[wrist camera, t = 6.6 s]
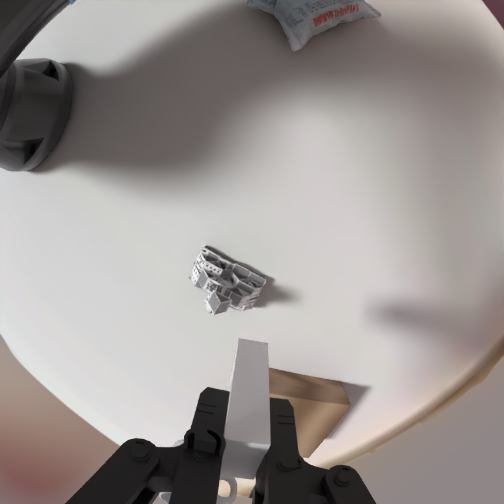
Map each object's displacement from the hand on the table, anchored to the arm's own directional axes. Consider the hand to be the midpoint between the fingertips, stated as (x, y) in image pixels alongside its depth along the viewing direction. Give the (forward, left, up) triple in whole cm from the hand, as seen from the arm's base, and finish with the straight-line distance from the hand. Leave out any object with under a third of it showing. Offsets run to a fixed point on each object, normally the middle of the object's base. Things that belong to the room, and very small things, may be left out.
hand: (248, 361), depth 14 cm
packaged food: (-1, +26, -16) cm, 31 cm away
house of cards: (-4, -3, -16) cm, 16 cm away
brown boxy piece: (+8, -18, -15) cm, 25 cm away
